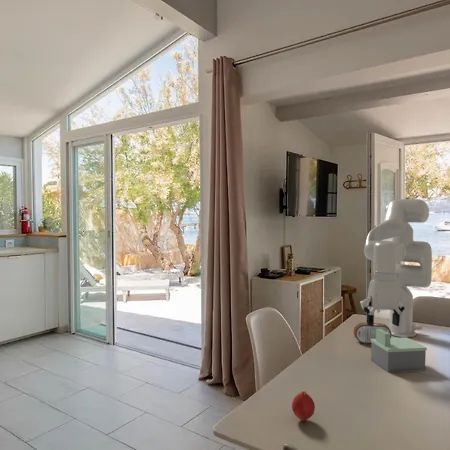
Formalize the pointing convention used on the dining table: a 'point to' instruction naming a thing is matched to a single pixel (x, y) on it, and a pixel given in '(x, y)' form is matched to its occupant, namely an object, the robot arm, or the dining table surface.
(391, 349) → the lid
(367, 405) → the dining table surface
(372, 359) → the tub
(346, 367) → the dining table surface
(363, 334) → the tin
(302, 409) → the onion
